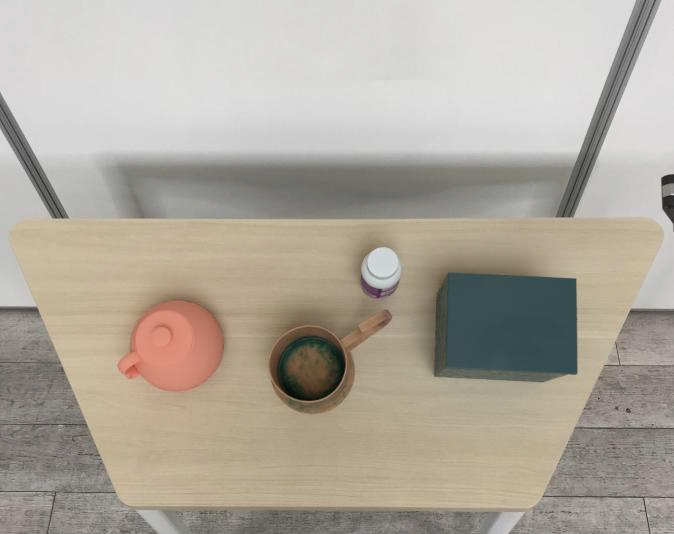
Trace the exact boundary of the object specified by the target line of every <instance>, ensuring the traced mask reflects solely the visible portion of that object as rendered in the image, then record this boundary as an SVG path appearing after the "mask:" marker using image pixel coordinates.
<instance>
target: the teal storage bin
mask: <svg viewBox="0 0 674 534" xmlns="http://www.w3.org/2000/svg"><path fill="white" fill-rule="evenodd" d="M447 281H448V274H446V276H445V278H444V280H443V281H442V283H441V285H440V287H439V288H438V290H437V292H436V298H435V299H436V301H435V333H434V334H435V338H434V339H435V340H434V370H433V371H434V372H433V373H434V374H433V375H434V378H451V379H452V378H453V379H468V380H469V379H470V380H487V381H488V380H489V381H490V380H491V381H507V382H508V381H510V382H528V383H546V382H549V381H552V380H556V379H559V378H562V377H565V376H568V375H567V374H547V373H528V372H508V371H489V370H469V369H450V368H445V361H446V321H447Z"/></svg>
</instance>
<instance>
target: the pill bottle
mask: <svg viewBox="0 0 674 534" xmlns="http://www.w3.org/2000/svg"><path fill="white" fill-rule="evenodd" d="M402 273H403V265H402V261H401V259H400V258H399V256H398V254H397V253H396V252H395V251H394V250H393V249H391V248H389V247H385V246H381V247H377V248H374V249H372V250H371V251H370V252H368V253H367V254H366V255H365V257H364V258H363V260H362V263H361V265H360V277H359V279H360V280H359V283H360V284H359V285H360V288H361V291H362V292H363V293H364V294H365V295H366V296H367V297H369V298H370V299H372V300H375V301H376V300H377V301H379V300H385V299H388V298H389V297H391V296H392V295H393V294H394V293H395V292H396V291H397V289H398V286H399V284H400V280H401V277H402Z"/></svg>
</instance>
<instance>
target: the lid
mask: <svg viewBox="0 0 674 534" xmlns="http://www.w3.org/2000/svg"><path fill="white" fill-rule="evenodd" d="M447 275H448V281H447V321H446V361H445V368H450V369H469V370H489V371H508V372H528V373H547V374H567V375H566V376H568V375H569V376H576V375H578V307H577V306H578V299H577V298H578V297H577V296H578V295H577V292H578V291H577V290H578V288H577V286H578V285H577V284H578V283H577V280H578V279H577V278H575V277H557V276H554V277H553V276H533V275H514V274H513V275H511V274H494V273H493V274H490V273H469V272H468V273H467V272H450V271H449V272H448V273H447Z"/></svg>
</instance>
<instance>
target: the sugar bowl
mask: <svg viewBox="0 0 674 534" xmlns="http://www.w3.org/2000/svg"><path fill="white" fill-rule="evenodd" d="M223 353H224V336H223V333H222V330H221V327H220V325H219V323H218V321H217V320H216V319H215V317H214V316H213V315H212V314H211V312H209V311H208V310H206V309H205V308H204V307H202V306H201V305H198V304H196V303H194V302H191V301H186V300H169V301H165V302H160V303H158V304H156V305H154V306H152V307H150V308H149V309H148V310H146V311H145V312H144V313H143V314H142V315H141V316H140V317H139V318H138V320H137V321H136V323H135V324H134V326H133V329H132V331H131V334H130V339H129V353H128V354H126V355H125V356H123V357H122V358H120V360H119V361H118V362H117V365H116V367H117V369H118V371H119V372H120V373H121V374H122V375H124V377H125V378H127V379H128V380H133V379H135V378H138V377H139V376H140V377H142V378H143V379H144V380H145V381H146V382H147V383H149V384H150V385H151V386H153V387H155V388H157V389H160V390H163V391H166V392H174V393H175V392H176V393H177V392H178V393H179V392H185V391H190V390H193V389H195V388H197V387H199V386H200V385H202V384H204V383H205V382H206V381H208V379H210V378H211V377H212V376H213V375H214V373H215V372H216V371H217V369H218V367H219V366H220V364H221V360H222V358H223Z"/></svg>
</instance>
